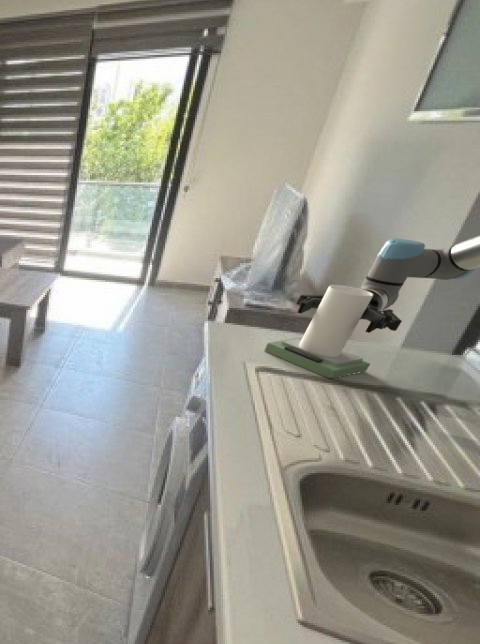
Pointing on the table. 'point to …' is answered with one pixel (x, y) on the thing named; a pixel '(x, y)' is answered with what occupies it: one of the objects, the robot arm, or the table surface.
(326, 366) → the scale
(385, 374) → the table surface
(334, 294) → the cup
